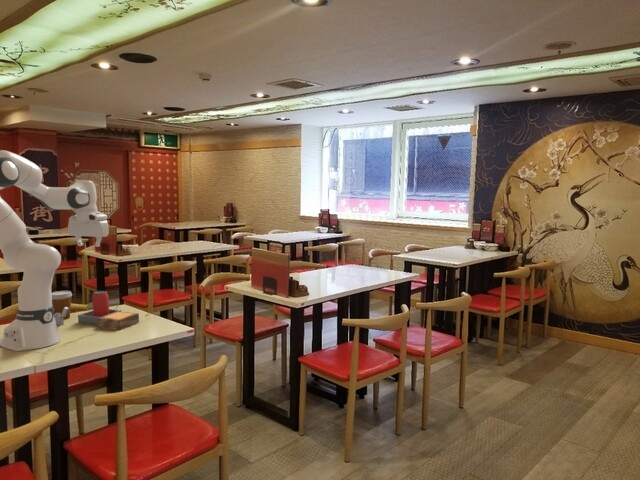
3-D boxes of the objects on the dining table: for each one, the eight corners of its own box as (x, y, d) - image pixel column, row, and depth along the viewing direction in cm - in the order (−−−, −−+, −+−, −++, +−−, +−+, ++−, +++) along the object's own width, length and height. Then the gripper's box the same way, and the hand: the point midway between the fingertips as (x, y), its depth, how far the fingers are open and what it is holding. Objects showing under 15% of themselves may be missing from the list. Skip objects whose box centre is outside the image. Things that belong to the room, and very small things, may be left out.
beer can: (103, 320, 214) (102, 294, 212) (90, 319, 215) (88, 293, 213) (112, 316, 220) (111, 290, 219) (99, 315, 221) (98, 290, 220)
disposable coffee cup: (54, 316, 224) (52, 291, 222) (76, 315, 225) (75, 290, 224) (47, 322, 214) (45, 295, 213) (70, 320, 216) (68, 294, 215)
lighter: (52, 325, 209) (51, 307, 209) (55, 324, 211) (54, 306, 210) (67, 325, 209) (66, 307, 208) (70, 324, 210) (69, 306, 209)
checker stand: (98, 327, 206) (97, 318, 206) (117, 320, 217) (117, 311, 217) (120, 329, 202) (120, 320, 202) (139, 322, 213) (138, 313, 213)
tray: (78, 322, 213) (77, 315, 212) (99, 315, 225) (99, 308, 224) (101, 325, 209) (100, 317, 208) (121, 317, 221) (121, 310, 220)
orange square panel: (102, 320, 207) (102, 317, 207) (117, 314, 215) (117, 312, 215) (119, 321, 204) (119, 319, 204) (134, 316, 212) (134, 313, 212)
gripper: (63, 215, 217) (65, 246, 218) (99, 216, 210) (101, 247, 212) (74, 214, 223) (76, 244, 224) (110, 215, 216) (111, 246, 218)
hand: (88, 246), depth 218 cm, fingers open, 8 cm apart
